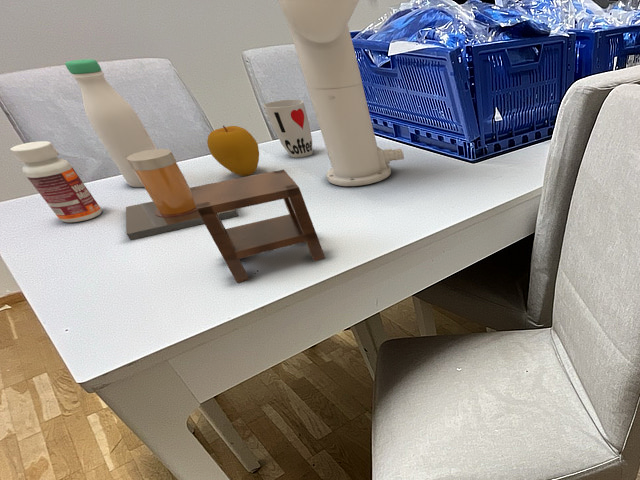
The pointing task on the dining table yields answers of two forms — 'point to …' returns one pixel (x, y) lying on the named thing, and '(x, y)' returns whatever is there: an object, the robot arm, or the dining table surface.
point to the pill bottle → (56, 182)
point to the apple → (234, 149)
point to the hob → (161, 220)
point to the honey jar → (162, 180)
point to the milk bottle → (111, 117)
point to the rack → (260, 233)
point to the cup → (291, 126)
